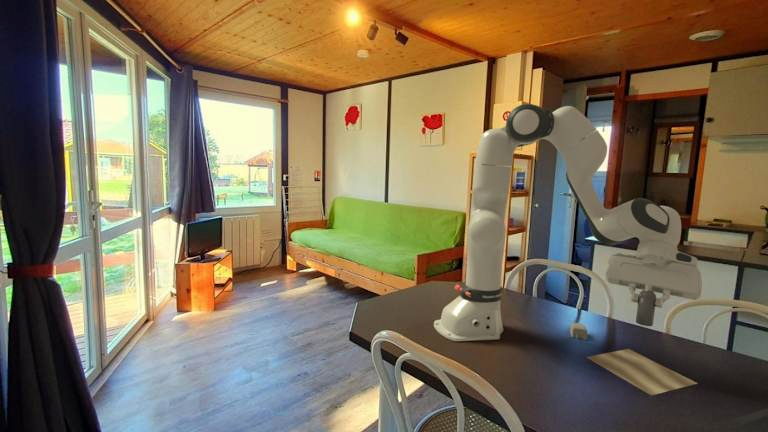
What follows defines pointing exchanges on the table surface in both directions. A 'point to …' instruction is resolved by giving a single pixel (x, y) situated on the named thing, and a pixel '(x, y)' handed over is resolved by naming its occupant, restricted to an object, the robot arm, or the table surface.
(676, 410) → the table surface
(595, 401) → the table surface
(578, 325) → the usb wall charger
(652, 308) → the dark bottle
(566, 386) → the table surface
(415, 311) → the table surface
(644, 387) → the birch board
